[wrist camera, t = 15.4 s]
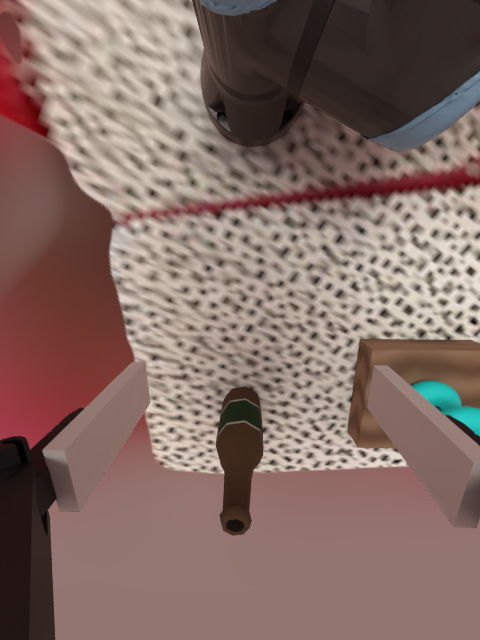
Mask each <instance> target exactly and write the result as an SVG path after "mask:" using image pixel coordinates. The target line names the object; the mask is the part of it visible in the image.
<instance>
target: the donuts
mask: <svg viewBox="0 0 480 640" xmlns="http://www.w3.org/2000/svg"><path fill="white" fill-rule="evenodd" d="M412 387H413V388H414V389H415V390H416V391H417V392H418V393H420V394H421V395H422V396H423V397H424V398H425V399H426V400H428V401H429V402H430V403H431V404H432V405H433V406H437V409H438V410H439V411H440V412H441V413H443V414H444V415H450V416H452V417H454V418H455V419H457V420H459V421H461V422H463V423H464V424H465V425H466V426H468V427H469V428H470V429H471V430H472V431H474V432H475V434H477V435H478V436H480V409H479V408H475V407H471V406H462V405H461V400H460V397H459V395H458V394H457V392H456V391H455V390H454V389H453V388H452V387H450V386H449V385H447V384H445V383H442V382H438V381H422V382H418V383H416V384H413V385H412Z"/></svg>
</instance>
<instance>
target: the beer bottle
mask: <svg viewBox="0 0 480 640" xmlns="http://www.w3.org/2000/svg"><path fill="white" fill-rule="evenodd" d="M216 448H217V452H218V455H219V459H220V463H221V466H222V468H223V470H224V473H225V476H224V497H223V498H224V499H223V511H222V513H221V514H220V520H221V524H222V528H223V531H225V532H227V533H229V534H231V535H241V534H244V533H245V532H246V531H247V530H248V529H249V528H250V524H251V521H252V520H251V517H250V513H249V507H250V492H251V478H252V474H253V470H254V469H255V467H256V466H257V465H258V464H259V463H260V461H261V458H262V456H263V433H262V416H261V407H260V402H259V397H258V394H257V393H255V392H253V391H252V390H250V389H249V388H247V387H241V388H235V389H232V390H231V391H230V392H229V394H228V395H227V396H226V398H225V399H224V402H223V405H222V411H221V416H220V422H219V427H218V433H217V440H216Z"/></svg>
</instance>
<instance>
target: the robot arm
mask: <svg viewBox="0 0 480 640" xmlns="http://www.w3.org/2000/svg"><path fill="white" fill-rule="evenodd" d="M192 2H193V6H194V10H195V13H196V17H197V21H198V25H199V29H200V33H201V37H202V41H203V45H204V51H203V57H202V62H201V88H202V94H203V98H204V101H205V105H206V108H207V111H208V113H209V115H210V117H211V119H212V121H213V123H214V124H215V126H216V127H217V128H218V129H219V131H220V132H221V133H222V134H223V135H225V136H226V137H227V138H229V139H230V140H232V141H234V142H236V143H238V144H241V145H245V146H261V145H266V144H269V143H271V142H273V141H275V140H277V139H278V138H280V137H281V136H283V135H284V134H285V133H286V132H287V131H288V130H289V129H290V128H291V127H292V125H293V124H294V123H295V121H296V120H297V118H298V116H299V114H300V112H301V110H302V107H303V105H304V102H306V103H308V104H310V105H311V106H313V107H315V108H317V109H318V110H320V111H322V112H324V113H325V114H327V115H329V116H331V117H332V118H334V119H336V120H337V121H339V122H341V123H343V124H344V125H346V126H348V127H350V128H351V129H353V130H355V131H357V132H358V133H360V136H361V137H362V138H363V139H364V140H366V141H372V142H376V143H378V144H380V145H382V146H384V147H386V148H388V149H390V150H393V151H404V150H410V149H413V148H416V147H418V146H421V145H423V144H425V143H426V142H428V141H430V140H432V139H433V138H435V137H436V136H438V135H439V134H441V133H442V132H443V131H445V130H446V129H448V128H449V127H450V126H451V125H453V124H454V123H455V122H457V121H458V120H459V119H460V118H461V117H462V116H464V115H465V114H466V113H467V112H468V111H469V110H471V109H472V108H473V107H474V106H475V105H476V104H477V103H478V102H479V101H480V0H192ZM149 404H150V396H149V388H148V380H147V372H146V364H145V362H132V363H131V364H130V365H129V366H128V367H127V368H126V369H125V370H124V371H123V372H122V373H121V374H120V375H119V376H118V377H117V378H116V379H115V380H114V381H112V382H111V383H110V384H109V385H108V387H106V388H105V389H104V390H103V391H102V392H101V393H100V394H99V395H98V396H97V397H96V398H95V399H94V400H93V401H92V402H91V403H90V404H89V405H88V406H87V407H86V408H79V409H78V410H76V411H74V412H72V413H71V414H69V415H68V416H67V417H65V418H64V419H63V420H62V421H61V422H60V423H59V425H57V426H56V427H54V429H52V431H51V432H49V433H48V434H47V435H46V436H45V437H44V438H43V439H41V440H40V441H39V442H38V443H37V444H36V445H35V446H34V447H33V448H32V449H31V450H30V449H29V445H28V442H27V440H26V438H24V437H21V436H15V437H9V438H5V439H2V440H0V640H55V625H54V602H53V580H52V557H51V537H50V536H51V534H50V516H49V512H48V509H49V508H50V506H51V505H52V504H53V502H54V501H55V500H56V501H57V504H58V508H59V511H66V512H80V511H81V509H82V508H83V506H84V505H85V503H86V502H87V500H88V499H89V497H90V496H91V494H92V492H93V491H94V489H95V488H96V486H97V485H98V483H99V482H100V480H101V478H102V477H103V475H104V474H105V472H106V471H107V469H108V467H109V466H110V465H111V463H112V461H113V460H114V458H115V457H116V455H117V453H118V452H119V451H120V449H121V448H122V446H123V444H124V443H125V441H126V440H127V438H128V437H129V435H130V434H131V432H132V430H133V429H134V427H135V426H136V424H137V423H138V421H139V420H140V418H141V416H142V415H143V413H144V412H145V410H146V409H147V407H148V406H149ZM367 408H368V409H369V411H370V412H371V414H372V415H373V416H374V418H375V419H376V421H377V422H378V423H379V425H380V426H381V428H382V429H383V430H384V432H385V433H386V434H387V436H388V437H389V439H390V440H391V441H392V443H393V444H394V446H395V447H396V448H397V450H398V451H399V453H400V454H401V455H402V457H403V458H404V459H405V461H406V462H407V464H408V465H409V466H410V468H411V469H412V471H413V472H414V473H415V475H416V476H417V478H418V479H419V480H420V482H421V483H422V484H423V486H424V487H425V489H426V490H427V491H428V493H429V494H430V496H431V497H432V498H433V500H434V501H435V502H436V504H437V505H438V507H439V508H440V509H441V511H442V512H443V514H444V515H445V516H446V518H447V519H448V521H449V522H450V523H451V524H452V526H453V527H466V528H476V527H477V524H478V522H479V519H480V436H478V435H477V434H475V432H474V431H472V430H471V429H470V428H469V427H468V426H466V425H465V424H464V423H463V422H461V421H459V420H457V419H455V418H454V417H452V416H450V415H444V414H443V413H441V412H440V411H439V410H438V409H437V408H436V407H435V406H433V405H432V404H431V403H430V402H429V401H428V400H426V399H425V398H424V397H423V396H422V395H421V394H420V393H418V392H417V391H416V390H415V389H414V388H413V387H412V386H410V385H409V384H408V383H407V382H406V381H405V380H404V379H402V378H401V377H400V376H399V375H398V374H397V373H396V372H394V371H393V370H392V369H391V368H390V367H389V366H388V365H374V366H373V372H372V379H371V385H370V391H369V397H368V404H367Z"/></svg>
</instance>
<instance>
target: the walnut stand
mask: <svg viewBox="0 0 480 640" xmlns="http://www.w3.org/2000/svg"><path fill="white" fill-rule="evenodd" d="M374 365H388V366H389V367H390V368H391V369H392V370H393V371H394V372H396V373H397V374H398V375H399V376H400V377H401V378H402V379H404V380H405V381H406V382H407V383H408V384H409V385H410V386H412V385H413V384H416V383H418V382H422V381H438V382H442V383H445V384H447V385H449V386H450V387H452V388H453V389H454V390H455V391H456V392H457V394H458V395H459V397H460V400H461V405H462V406H471V407H475V408H479V409H480V344H479V343H477V342H475V341H472V340H399V339H360V343H359V351H358V358H357V365H356V372H355V380H354V387H353V394H352V402H351V409H350V416H349V423H348V430H349V432H350V434H351V436H352V438H353V440H354V442H355V444H356V446H357V447H361V448H396V447H395V446H394V444H393V443H392V441H391V440H390V439H389V437H388V436H387V434H386V433H385V432H384V430H383V429H382V428H381V426H380V425H379V423H378V422H377V421H376V419H375V418H374V416H373V415H372V414H371V412H370V411H369V409H368V408H367V404H368V397H369V391H370V385H371V379H372V372H373V366H374ZM435 407H436V408H437V406H435Z"/></svg>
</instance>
